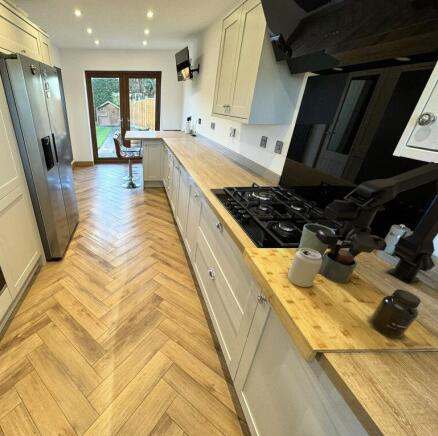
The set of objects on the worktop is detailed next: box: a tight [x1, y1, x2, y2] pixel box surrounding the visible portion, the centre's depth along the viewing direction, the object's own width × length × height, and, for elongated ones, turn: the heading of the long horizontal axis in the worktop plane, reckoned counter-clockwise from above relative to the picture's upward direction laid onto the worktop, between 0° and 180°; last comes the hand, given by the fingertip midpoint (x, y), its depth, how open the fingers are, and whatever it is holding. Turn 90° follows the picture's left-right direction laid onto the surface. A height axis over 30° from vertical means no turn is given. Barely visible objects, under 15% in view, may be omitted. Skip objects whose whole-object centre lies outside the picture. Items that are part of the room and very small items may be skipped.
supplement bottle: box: [369, 288, 422, 339], centre depth 63 cm, size 7×7×12 cm
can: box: [287, 248, 323, 288], centre depth 79 cm, size 8×8×12 cm
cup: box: [318, 250, 358, 283], centre depth 84 cm, size 9×9×7 cm
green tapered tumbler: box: [297, 223, 336, 259], centre depth 94 cm, size 10×10×12 cm
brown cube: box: [330, 248, 355, 265], centre depth 83 cm, size 4×4×4 cm
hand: (339, 260), depth 83 cm, fingers closed on brown cube, 4 cm apart
